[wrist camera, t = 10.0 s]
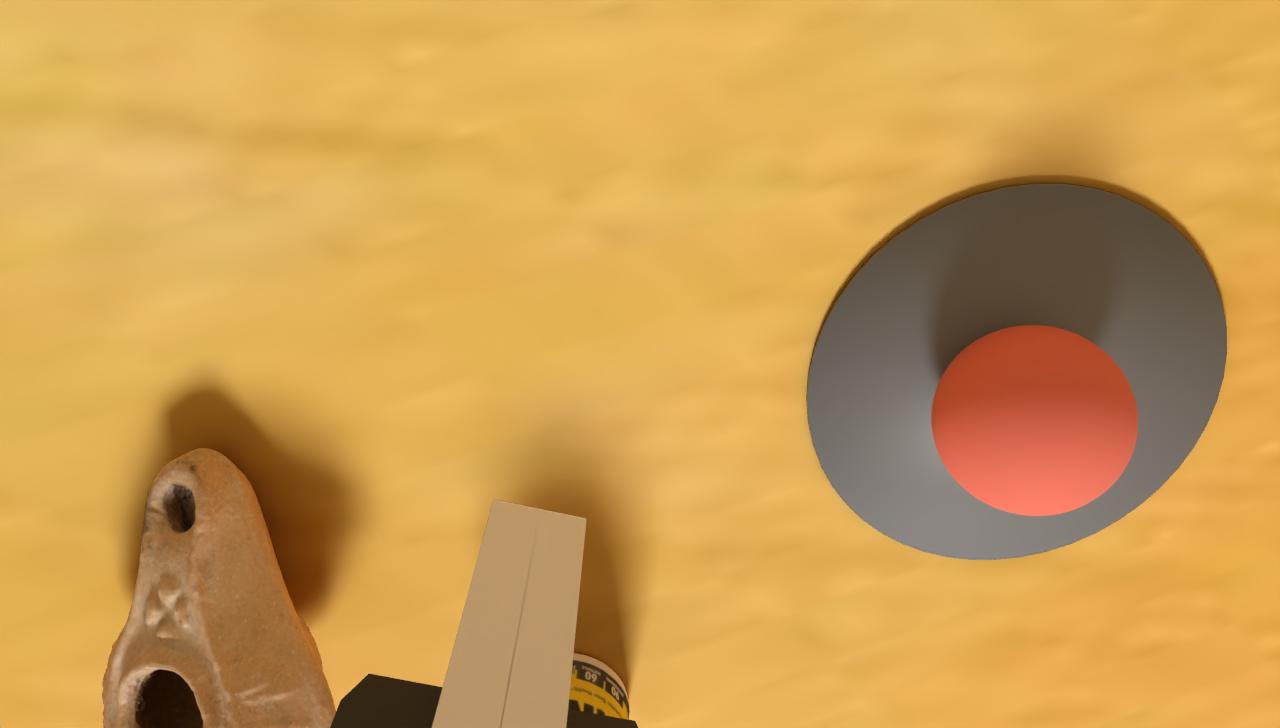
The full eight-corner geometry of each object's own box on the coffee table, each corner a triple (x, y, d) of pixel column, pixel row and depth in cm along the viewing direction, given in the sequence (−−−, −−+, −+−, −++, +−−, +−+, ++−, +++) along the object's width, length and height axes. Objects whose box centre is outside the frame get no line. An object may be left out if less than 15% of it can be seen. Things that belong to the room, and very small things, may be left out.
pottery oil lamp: (355, 433, 30) (278, 563, 24) (397, 714, 35) (341, 885, 29) (87, 435, 30) (-62, 565, 24) (165, 715, 35) (59, 886, 29)
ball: (909, 394, 31) (876, 453, 26) (1028, 270, 28) (1015, 310, 24) (1042, 505, 30) (1033, 587, 26) (1177, 387, 28) (1195, 454, 23)
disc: (725, 436, 30) (726, 439, 30) (999, 93, 26) (1001, 94, 26) (1021, 615, 33) (1023, 619, 33) (1312, 333, 29) (1317, 336, 29)
